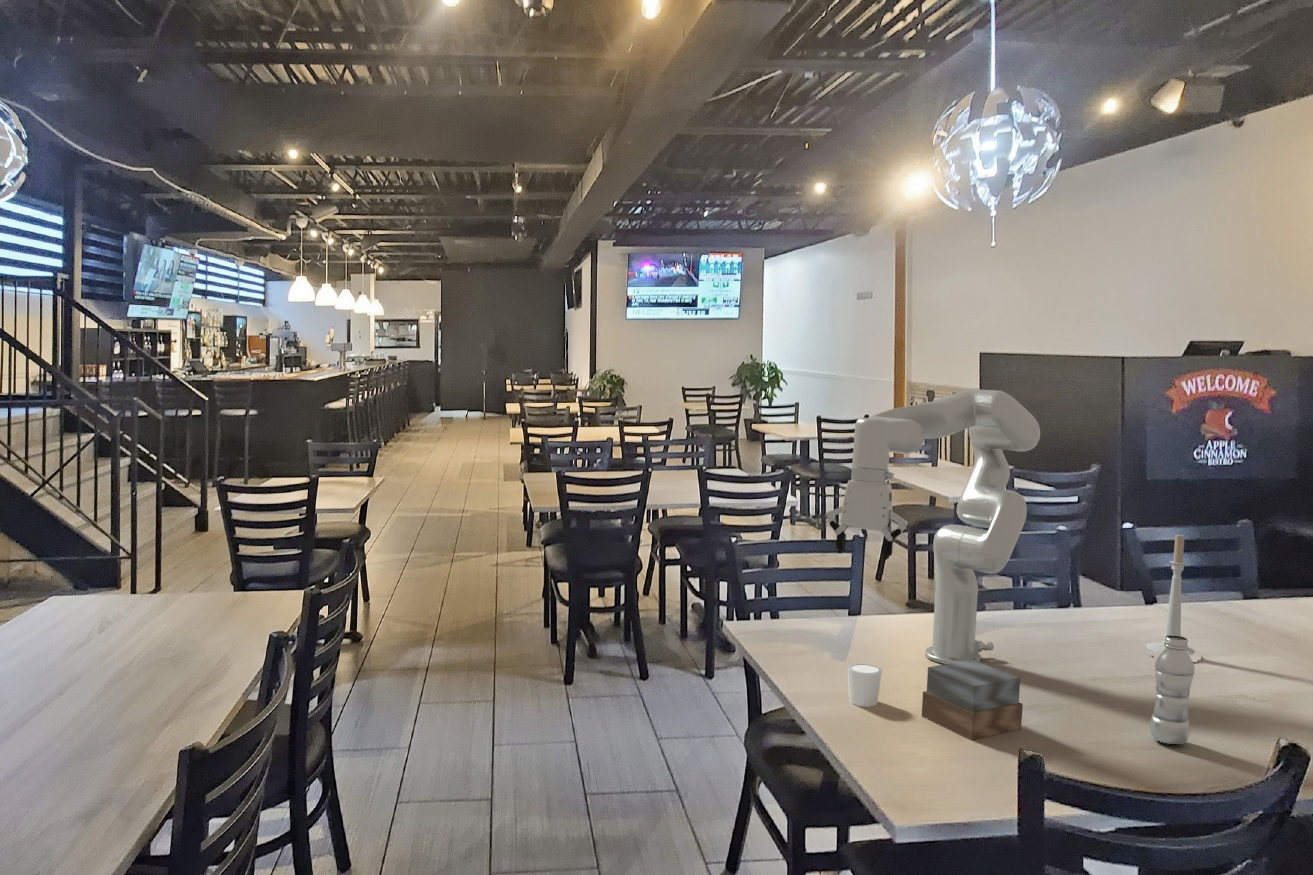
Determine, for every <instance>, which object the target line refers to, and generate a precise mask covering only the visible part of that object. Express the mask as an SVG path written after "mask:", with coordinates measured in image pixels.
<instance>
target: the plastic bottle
mask: <svg viewBox="0 0 1313 875" xmlns="http://www.w3.org/2000/svg"><path fill="white" fill-rule="evenodd" d="M1164 637H1165V636H1164ZM1188 642H1189V640H1188V638H1187V637H1185V636H1183V635H1182V636H1177V635H1166V637H1165V643H1164V646H1165V647H1166V649H1165V650H1164V651H1163V652H1162V653H1161V654H1160V655H1159V656H1158V658H1157V659H1155V663H1154V664H1155V665H1154V668H1155V669H1154V670H1155V672H1154V673H1155V681H1156V682H1155V684H1156V685H1155V700H1154V701H1155V702H1154V707H1153V712H1152V715H1151V719H1150V722H1149V732H1150V735H1151V737H1152V739H1153V738H1154V739H1153V740H1155V741H1156V740H1157V741H1156V742H1158V741H1160V742H1159V743H1161V742H1163V743H1162V744H1164V743H1167V744H1166V745H1169V744H1183V743H1184V744H1186V743H1187V742H1188V741H1189V740H1188V739H1189V737H1190V733H1191V730H1190V721H1189V699H1190V698H1189V697H1190V693H1191V686H1192V683H1193V679H1194V674H1195V670H1196V668H1195V664H1194V663H1193V661H1192V660H1191V658H1190V656H1189V655H1188V654H1187V652H1186V650H1187V649H1188V647H1189V646H1188ZM1184 744H1183V745H1184Z"/></svg>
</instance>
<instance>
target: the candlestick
mask: <svg viewBox="0 0 1313 875" xmlns="http://www.w3.org/2000/svg"><path fill="white" fill-rule="evenodd" d="M1174 537H1175V538H1174V549H1173V560H1170V561H1169V563H1170V564H1171V570H1172V573H1173V575H1172V577H1171V584H1170V586H1171V587H1170V591H1169V593H1170V594H1169V601H1168V608H1167V616H1166V624H1165V630H1164V634H1163V635H1164V638H1163V640H1162V641H1153V642H1150V643H1146V644H1145V645H1146V646H1147V648H1148V649H1150V650H1153V651H1154V652H1158V653H1162V652H1163V651H1164V650H1165V649H1166V647H1165V646H1164V643H1165V637H1166V635H1177V636H1181V635H1182V634H1181V633H1182V632H1181V630H1182V628H1181V627H1182V625H1181V624H1182V622H1181V621H1182V579H1183V578H1182V572H1183V571H1184V570H1185V569H1184V568H1185V567H1184V566H1186V565H1187V562H1184V549H1185V535H1184V534H1175V535H1174ZM1194 650H1195V649H1194V648H1192V647H1189V646H1188V649H1187V650H1186V652H1187V654H1188V655H1193V653H1195V651H1196V650H1195V651H1194Z"/></svg>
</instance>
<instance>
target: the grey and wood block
mask: <svg viewBox="0 0 1313 875" xmlns="http://www.w3.org/2000/svg"><path fill="white" fill-rule="evenodd" d="M926 677H927V678H926V679H927V680H926V690H924V691H922V704H921V705H922V706H921V717H922V716H923V717H922V718H924V717H925V718H924V719H926V718H928V719H929V720H928V719H927V720H928V721H930V720H931V721H930V722H932V721H933V723H934V722H935V724H937V725H939V724H940V725H939V726H941V727H943V726H944V727H943V728H945V727H946V728H945V729H947V730H949V729H950V730H949V731H951V730H952V733H953V732H954V733H955V732H956V734H957V733H958V734H957V735H959V736H961V737H964V736H965V738H966V739H968V738H969V739H968V740H970V739H971V740H970V741H973V740H972V739H975V740H978V738H979V739H982V738H983V739H984V738H988V737H992V735H993V736H996V735H1001V734H1000V733H1002V734H1006V733H1011V732H1015V731H1019V730H1022V724H1023V722H1022V720H1023V719H1022V718H1023V708H1024V707H1023V704H1024V703H1021V702H1020V691H1021V690H1020V688H1021V677H1020V676H1016V675H1014V674H1011V673H1009V672H1006V671H1003V670H1001V669H998V668H996V667H993V666H990V665H987V664H985V663H982V662H978V661H975V660H968V661H962V662H956V663H950V664H939V665H934V666H928V667H927V676H926ZM987 736H988V737H987Z"/></svg>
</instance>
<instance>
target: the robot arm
mask: <svg viewBox="0 0 1313 875" xmlns="http://www.w3.org/2000/svg"><path fill="white" fill-rule="evenodd" d="M1040 428H1041V427H1040V425H1039V422H1038V421H1037V419H1036V418H1035V416H1034V415H1032V414H1031V412H1029V410H1027V408H1025V407H1024V406H1023V405H1022V404H1021V403H1020V402H1019V401H1018V400H1017V399H1016V398H1014V396H1012V395H1010V394H1008V393H1007V392H1005V391H1003V390H998V389H997V390H995V389H994V390H993V389H979V388H978V389H977V388H975V389H974V388H973V389H972V388H971V389H970V388H969V389H963V390H961V391H958V392H956V393H952V394H951V395H947V396H944V397H941V398H938V399H935V400H932V401H929V402H927V401H926V402H922V403H917V404H911V405H909V406H908V405H907V406H906V405H905V406H901V407H897V408H891V409H888V410H887V409H886V410H885V411H882V412H879V413H876V414H873V415H871V416H870V417H860V418H858V419H857V420H856V422H855V424H854V438H853V449H852V450H853V452H852V464H851V465H852V466H851V474H850V475H851V477H850V479H849V480H848V481H847V484H846V488H845V492H844V495H843V501H842V506H840V507H838V508H835V509H832V510H829V511H827V512H826V513H825V516H826V518H827V521H828V522H829V526H830V527H831V528H832V529H833V531H834V532H835V534H836V541H835V542H836V543H835V548H836V549H837V553H838V554H842V553H845V552H846V543H847V542H846V539H847V534H846V533H845V532H846V531H847V529H849V528H853V529H857V530H867V531H877V532H881V533H882V535H883V536H884V538H885V540H884V541H883V548H882V549H883V550H882V559H883V560H888V559H889V558H890V557H891V556H893V548H894V547H893V546H894V540H895V539H896V538H897V537H899V536H900V535H901V534H902V533H903V531H904V530H905V529H906V527H907V526H908V521H907V520H906V519H905V518H903V517H901V516H900V515H899V514H897V513H895V512H894V511H893V493H892V492H893V491H892V484H891V483H888V482H889V480H894V479H895V472H891V471H890V469H889V460H890V453H894V454H903V455H909V454H913V453H916V452H918V451H919V450H920V449H921V448H922V447H923V445H924V443H925V440H934V439H942V438H946V437H948V436H952V435H954V434H956V433H959V432H962V431H965V430H967V429H968V435H969V439H970V443H971V446H972V450H973V456H974V460H973V461H974V462H973V467H972V470H971V472H970V475H969V477H968V479H967V482H966V484H965V486H964V488H963V490H962V492H961V495H960V498H959V499H958V502H957V506H956V514H957V517H958V519H960V520H961V521H962V522H963V523H965V524H969V525H972V526H974V527H972V526H967V525H961V524H948V525H944V526H941V527H940V528H939V529H938V530H937V531H936V532H935V535H934V537H933V544H932V549H933V556H934V564H935V590H934V593H935V594H934V611H933V612H934V613H933V631H932V646H929V647H927V648H925V654H924V655H925V657H926V658H928V659H929V660H931V661H933V662H936V663H940V664H941V665H944V664H950V663H956V662H962V661H968V660H975V661H978V662H980V663H982V662H981V661H982V656H981V654H980V653H981V652H982V651H985V652H986V651H989V652H990V651H994V648H995V647H994V643H993V642H992V641H990V642H989V641H988V642H987V641H986V642H983V641H982V640H978V639H976V630H977V612H978V611H977V610H978V596H979V586H978V579H977V576H976V574H975V571H976V572H981V573H986V574H997V573H999V572H1001V571H1002V570H1004V569H1005V567H1006V565H1007V564H1008V562H1009V560H1010V558H1011V556H1012V554H1013V551H1014V549H1015V547H1016V544H1017V542H1018V540H1019V537H1020V535H1021V533H1022V530H1023V527H1024V525H1025V523H1026V520H1027V511H1028V508H1027V503H1026V500H1025V498H1024V497H1023V495H1021V494H1020V493H1019V492H1016V491H1014V490H1012V489H1006V488H1007V485H1008V482H1009V480H1010V475H1011V472H1010V471H1011V470H1010V467H1009V463H1008V461H1007V458H1006V456H1005V454H1004V450H1005V451H1014V452H1028V451H1031V450H1033V449H1034V448H1035V447H1037V445H1038V443H1039V441H1040V438H1041V429H1040ZM840 514H841V517H840V518H841V520H840V521H841V524H839V522H837V521H836V516H837V515H840ZM892 522H895V523H897V524H898V526H897V527H896V529H895V530H893V531H892V529H891V527H892ZM975 526H976V527H975ZM977 527H981V528H985V529H981V528H977ZM986 528H987V530H986Z"/></svg>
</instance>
